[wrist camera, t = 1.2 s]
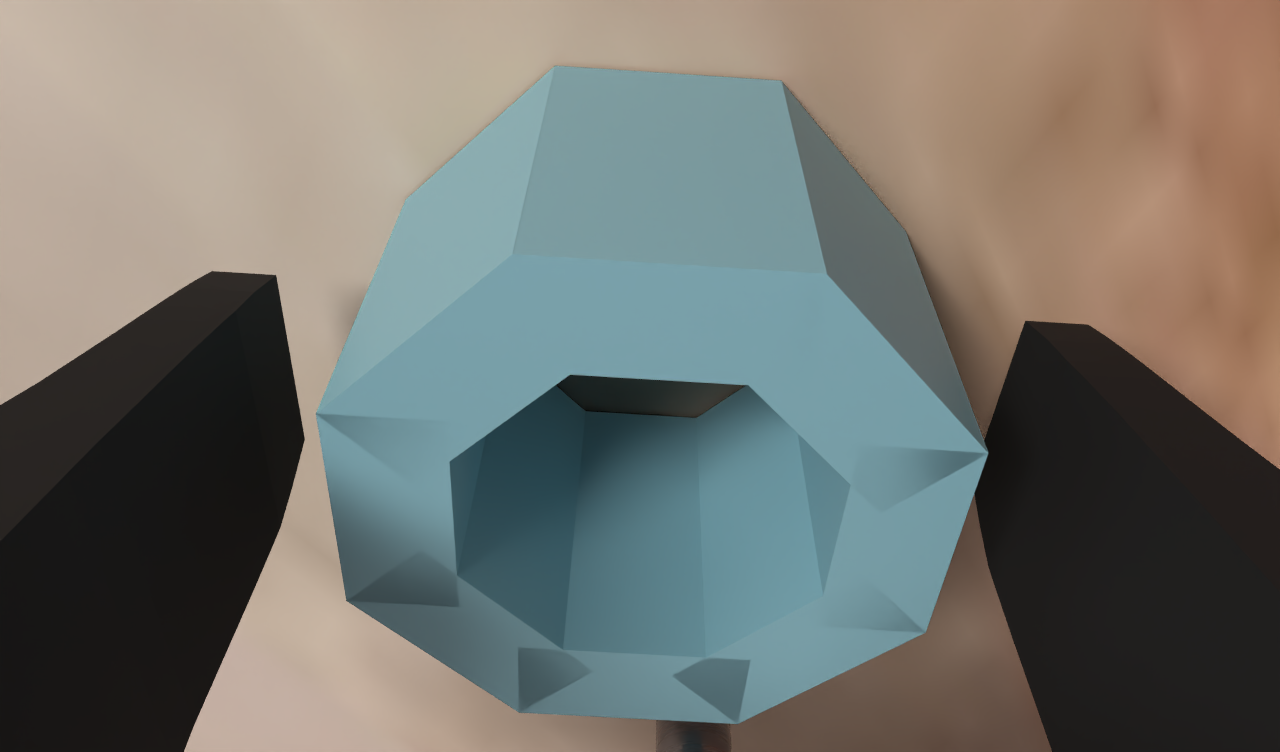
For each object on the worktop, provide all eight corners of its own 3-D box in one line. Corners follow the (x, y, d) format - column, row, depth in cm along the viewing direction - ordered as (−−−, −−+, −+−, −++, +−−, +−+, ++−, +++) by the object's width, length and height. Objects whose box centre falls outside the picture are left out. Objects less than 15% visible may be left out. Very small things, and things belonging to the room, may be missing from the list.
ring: (940, 91, 10) (1046, 287, 7) (842, 488, 13) (890, 732, 10) (393, 55, 10) (287, 240, 7) (427, 465, 13) (363, 705, 10)
